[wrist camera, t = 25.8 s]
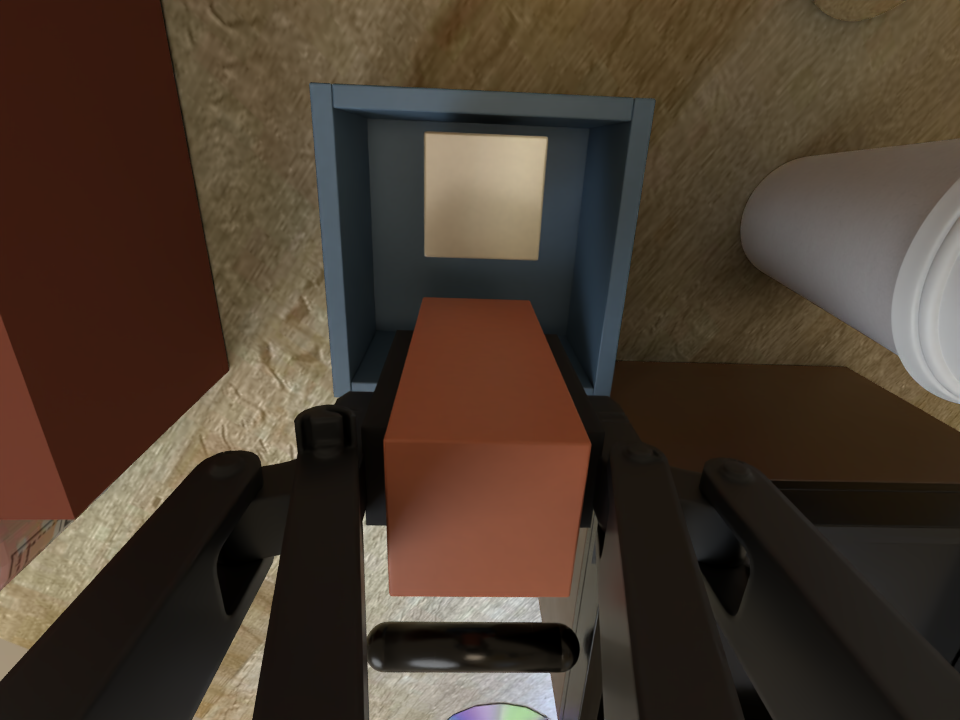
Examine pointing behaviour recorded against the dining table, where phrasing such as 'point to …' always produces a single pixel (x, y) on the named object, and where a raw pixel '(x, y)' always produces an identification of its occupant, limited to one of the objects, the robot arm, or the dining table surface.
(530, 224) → the cream block
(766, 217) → the coffee cup
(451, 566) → the terracotta block
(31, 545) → the beverage can
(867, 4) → the metal tumbler
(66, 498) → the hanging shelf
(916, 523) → the pan
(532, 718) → the cd
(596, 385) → the bin
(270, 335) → the dining table surface
